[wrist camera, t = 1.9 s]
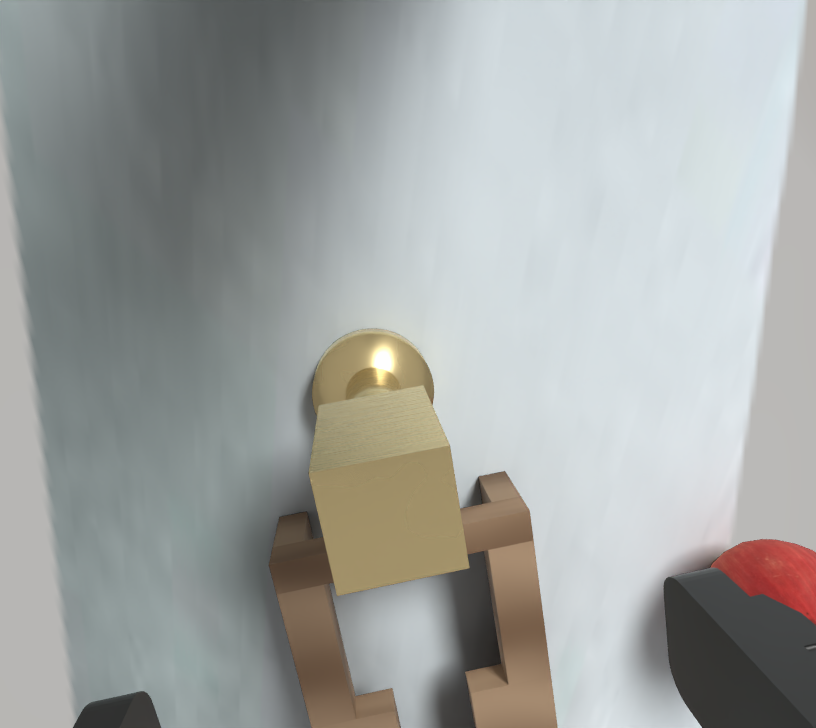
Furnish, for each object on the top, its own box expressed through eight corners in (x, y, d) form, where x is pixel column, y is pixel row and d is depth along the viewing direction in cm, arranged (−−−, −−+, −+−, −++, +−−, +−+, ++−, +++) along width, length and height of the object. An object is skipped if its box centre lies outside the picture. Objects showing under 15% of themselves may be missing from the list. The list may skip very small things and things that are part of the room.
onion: (785, 498, 28) (955, 607, 20) (778, 604, 29) (934, 743, 21) (667, 516, 27) (794, 635, 20) (666, 622, 29) (784, 771, 21)
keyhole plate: (279, 517, 25) (268, 564, 22) (504, 471, 26) (529, 510, 22) (358, 830, 30) (359, 910, 26) (548, 785, 30) (574, 858, 27)
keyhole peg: (302, 340, 24) (264, 447, 13) (420, 318, 24) (479, 405, 13) (326, 449, 25) (310, 631, 14) (438, 427, 25) (506, 589, 14)
